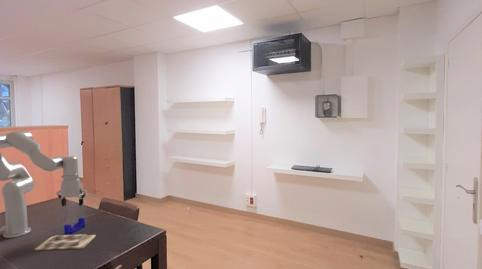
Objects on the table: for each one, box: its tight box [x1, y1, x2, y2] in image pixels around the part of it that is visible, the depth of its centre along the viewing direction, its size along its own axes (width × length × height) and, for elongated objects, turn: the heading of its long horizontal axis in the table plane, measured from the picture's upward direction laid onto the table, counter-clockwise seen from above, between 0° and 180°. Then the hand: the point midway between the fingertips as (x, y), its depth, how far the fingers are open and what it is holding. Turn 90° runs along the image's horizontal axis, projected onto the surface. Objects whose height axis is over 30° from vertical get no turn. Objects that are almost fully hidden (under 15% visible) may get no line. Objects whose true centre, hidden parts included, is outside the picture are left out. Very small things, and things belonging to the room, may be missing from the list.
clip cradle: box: [34, 233, 97, 251], centre depth 143 cm, size 24×14×2 cm, turn 95°
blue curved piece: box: [63, 217, 86, 235], centre depth 158 cm, size 12×4×6 cm, turn 169°
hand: (72, 205), depth 158 cm, fingers open, 9 cm apart
